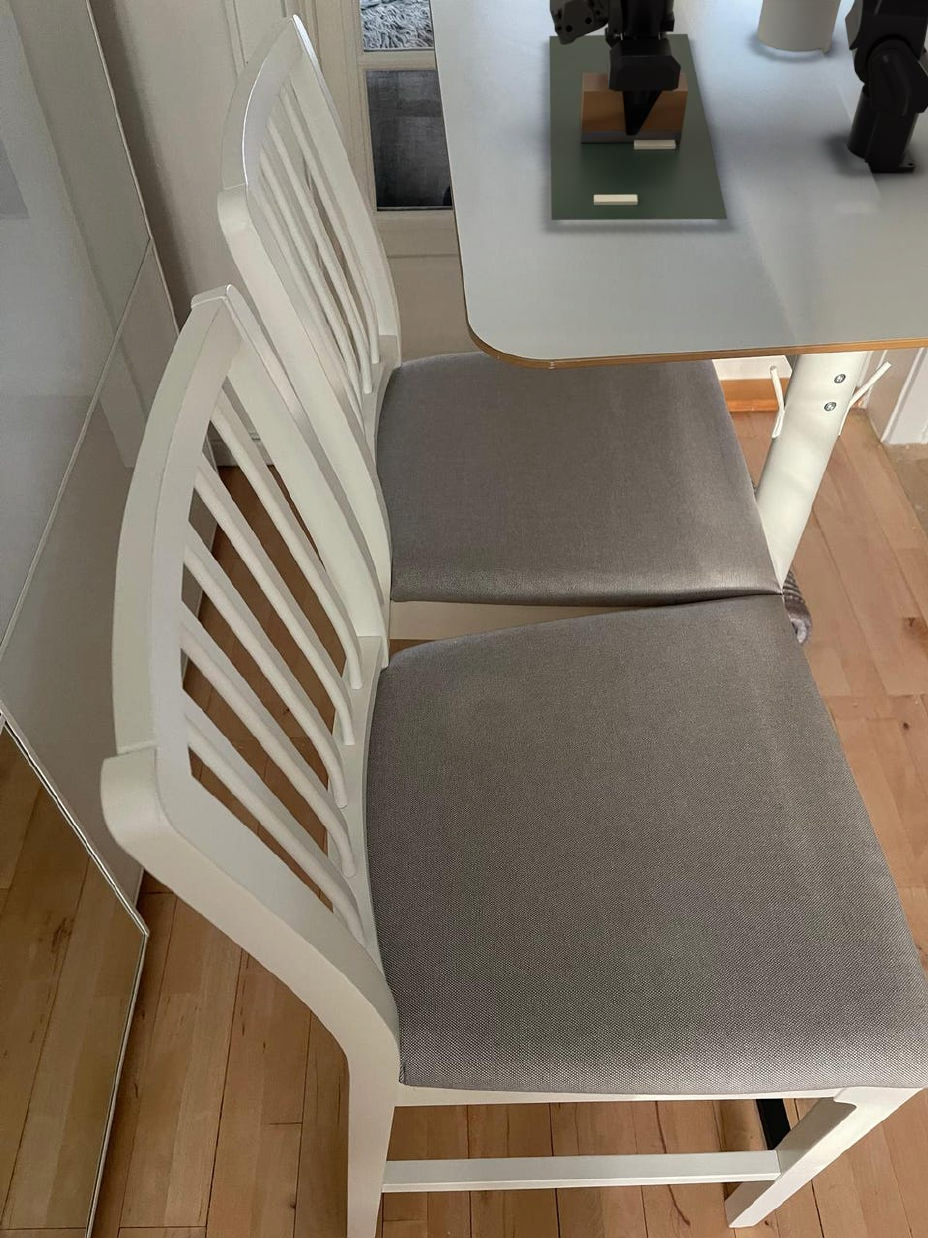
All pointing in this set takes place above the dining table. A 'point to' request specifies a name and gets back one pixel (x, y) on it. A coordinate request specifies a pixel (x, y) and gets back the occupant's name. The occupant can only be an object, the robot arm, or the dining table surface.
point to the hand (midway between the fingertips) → (630, 124)
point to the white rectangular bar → (615, 200)
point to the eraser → (607, 113)
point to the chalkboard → (626, 150)
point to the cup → (798, 24)
